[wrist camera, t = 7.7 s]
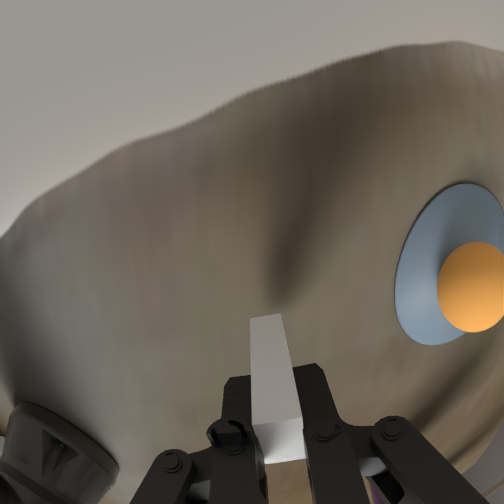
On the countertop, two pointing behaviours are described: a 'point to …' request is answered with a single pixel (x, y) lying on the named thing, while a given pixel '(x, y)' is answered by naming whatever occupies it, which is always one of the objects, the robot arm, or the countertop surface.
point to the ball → (472, 287)
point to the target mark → (441, 256)
